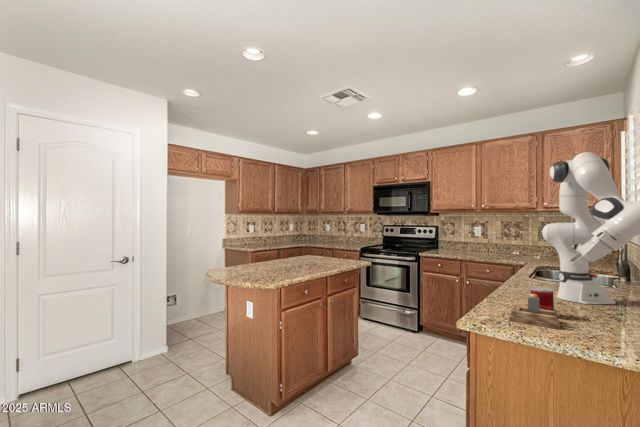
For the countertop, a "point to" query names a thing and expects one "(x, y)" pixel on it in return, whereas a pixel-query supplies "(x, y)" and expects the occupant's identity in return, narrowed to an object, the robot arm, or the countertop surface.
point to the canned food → (544, 297)
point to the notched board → (556, 326)
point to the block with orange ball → (533, 303)
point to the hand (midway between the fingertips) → (572, 263)
